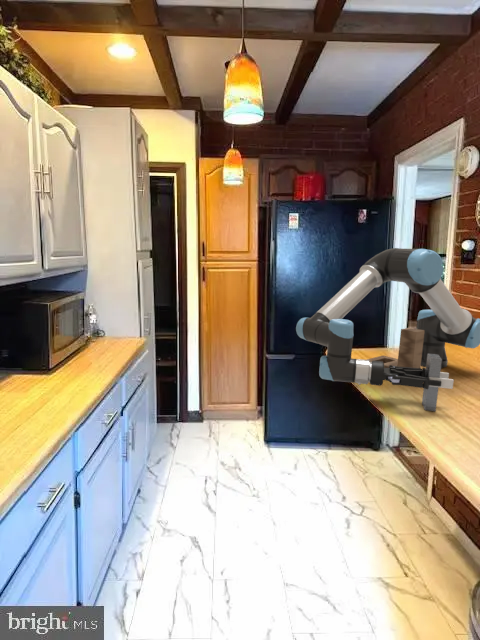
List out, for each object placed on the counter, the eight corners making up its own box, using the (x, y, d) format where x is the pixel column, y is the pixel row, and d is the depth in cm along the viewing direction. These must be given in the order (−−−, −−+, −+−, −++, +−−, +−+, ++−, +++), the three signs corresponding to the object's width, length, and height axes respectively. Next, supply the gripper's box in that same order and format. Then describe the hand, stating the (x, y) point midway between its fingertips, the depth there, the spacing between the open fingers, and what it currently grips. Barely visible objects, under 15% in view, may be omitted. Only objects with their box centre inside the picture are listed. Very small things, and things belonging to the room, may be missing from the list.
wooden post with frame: (362, 370, 172) (367, 324, 169) (382, 364, 181) (386, 321, 178) (405, 382, 158) (411, 333, 155) (424, 375, 167) (429, 329, 164)
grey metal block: (423, 410, 132) (429, 358, 129) (420, 403, 137) (426, 353, 134) (436, 411, 131) (442, 359, 128) (433, 404, 136) (439, 354, 134)
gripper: (368, 375, 146) (442, 383, 141) (369, 393, 128) (455, 403, 123) (370, 353, 145) (445, 360, 140) (372, 368, 127) (459, 377, 121)
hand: (450, 380), depth 131 cm, fingers closed on grey metal block, 6 cm apart
